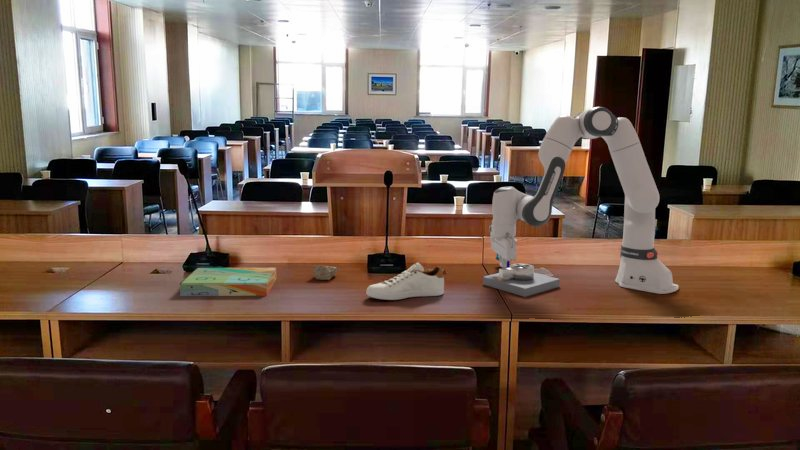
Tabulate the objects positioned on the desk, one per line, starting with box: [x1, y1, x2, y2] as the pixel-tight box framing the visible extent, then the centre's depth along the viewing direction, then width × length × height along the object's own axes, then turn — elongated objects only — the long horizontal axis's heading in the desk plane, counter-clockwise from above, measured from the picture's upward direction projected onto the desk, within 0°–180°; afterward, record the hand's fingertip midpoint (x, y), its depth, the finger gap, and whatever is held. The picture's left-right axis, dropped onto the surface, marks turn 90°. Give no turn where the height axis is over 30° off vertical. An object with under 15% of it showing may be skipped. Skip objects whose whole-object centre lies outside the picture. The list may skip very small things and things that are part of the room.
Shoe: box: [365, 262, 445, 301], centre depth 221 cm, size 10×29×12 cm, turn 111°
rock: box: [312, 265, 339, 281], centre depth 244 cm, size 10×8×8 cm
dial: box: [498, 262, 535, 280], centre depth 233 cm, size 14×9×4 cm, turn 112°
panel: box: [482, 272, 561, 298], centre depth 235 cm, size 20×20×4 cm
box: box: [179, 267, 277, 297], centre depth 231 cm, size 22×5×30 cm
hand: (503, 266), depth 235 cm, fingers closed
